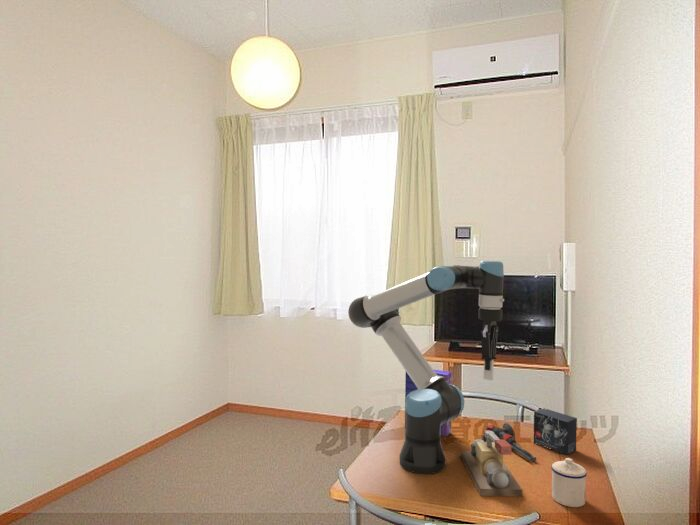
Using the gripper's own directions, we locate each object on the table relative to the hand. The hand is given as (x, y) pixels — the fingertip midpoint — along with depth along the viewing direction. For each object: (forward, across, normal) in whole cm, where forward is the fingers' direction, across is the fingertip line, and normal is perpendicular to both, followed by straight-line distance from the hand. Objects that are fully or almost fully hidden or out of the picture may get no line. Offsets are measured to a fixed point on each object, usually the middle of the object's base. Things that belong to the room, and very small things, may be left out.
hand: (488, 379), depth 154 cm
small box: (+29, +28, -16) cm, 44 cm away
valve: (+29, +17, -2) cm, 34 cm away
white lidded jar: (+28, -8, -25) cm, 39 cm away
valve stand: (+28, -7, -3) cm, 29 cm away
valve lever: (+16, -11, -6) cm, 21 cm away
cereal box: (+29, +17, +28) cm, 44 cm away
